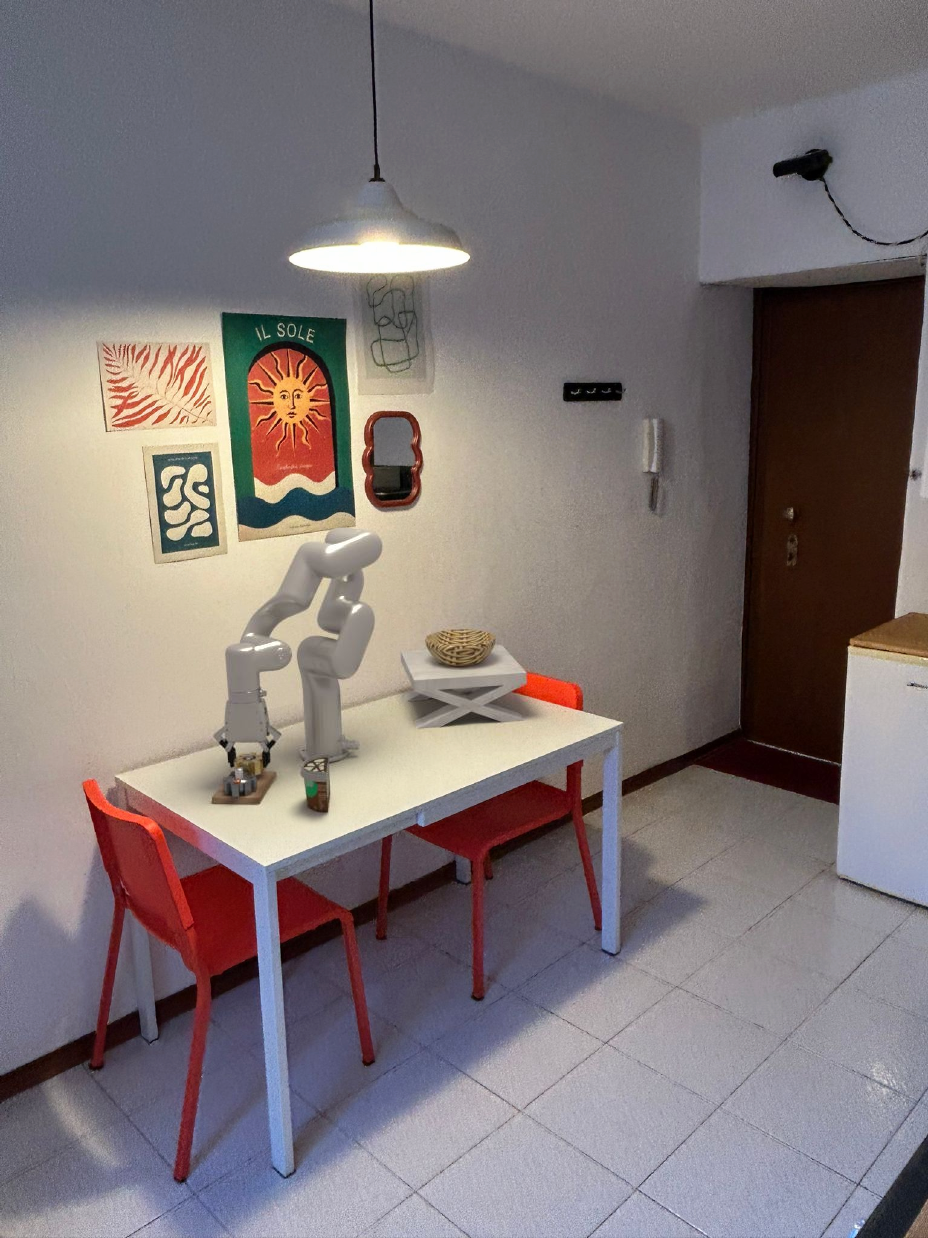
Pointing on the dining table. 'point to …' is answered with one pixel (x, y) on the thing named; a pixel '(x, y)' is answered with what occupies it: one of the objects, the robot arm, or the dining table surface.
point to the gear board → (262, 787)
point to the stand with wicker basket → (462, 676)
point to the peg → (249, 757)
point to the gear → (239, 783)
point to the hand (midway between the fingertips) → (249, 765)
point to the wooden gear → (250, 763)
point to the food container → (317, 782)
